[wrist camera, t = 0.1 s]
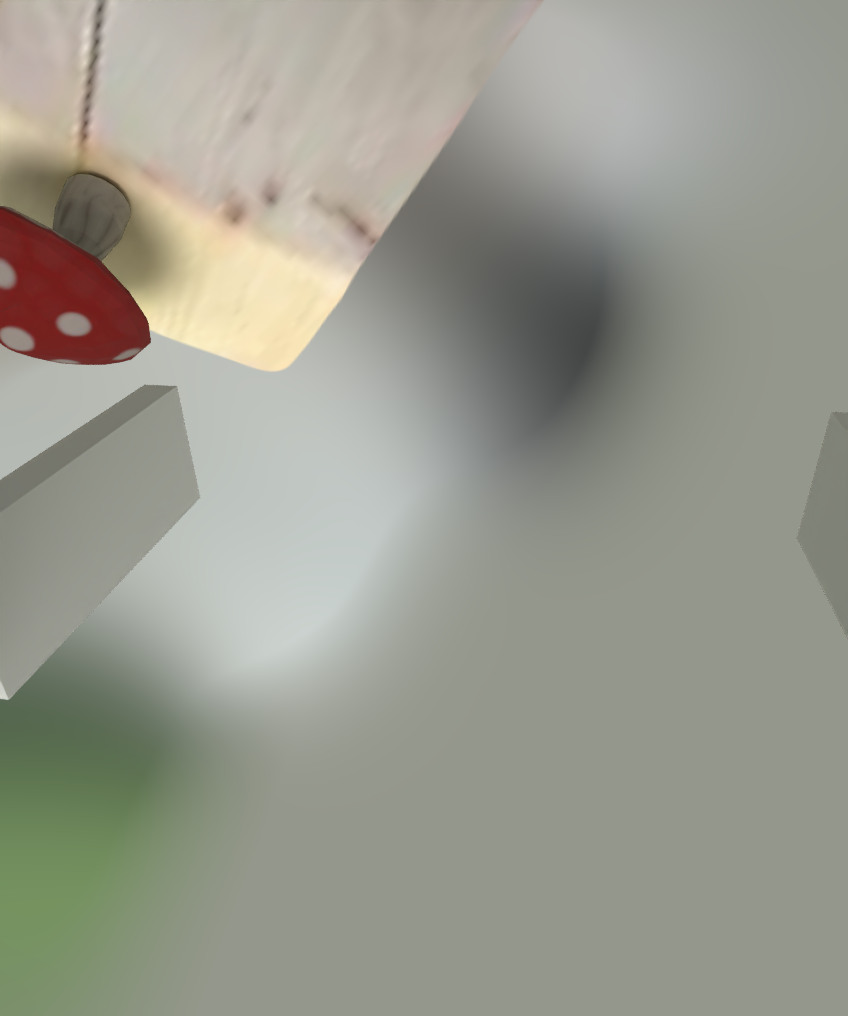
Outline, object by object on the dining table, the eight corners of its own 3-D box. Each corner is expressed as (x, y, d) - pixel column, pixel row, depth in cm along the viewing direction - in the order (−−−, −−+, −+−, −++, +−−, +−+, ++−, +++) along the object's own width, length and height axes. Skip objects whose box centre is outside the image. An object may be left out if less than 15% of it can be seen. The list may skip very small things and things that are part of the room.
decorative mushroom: (166, 291, 67) (119, 427, 61) (-21, 211, 61) (-96, 354, 55) (210, 178, 54) (155, 337, 48) (-23, 60, 48) (-120, 226, 42)
